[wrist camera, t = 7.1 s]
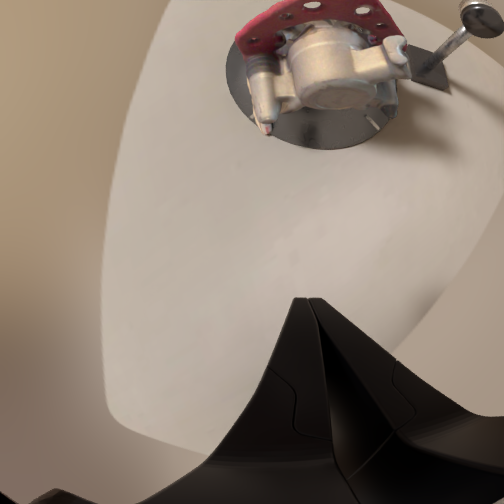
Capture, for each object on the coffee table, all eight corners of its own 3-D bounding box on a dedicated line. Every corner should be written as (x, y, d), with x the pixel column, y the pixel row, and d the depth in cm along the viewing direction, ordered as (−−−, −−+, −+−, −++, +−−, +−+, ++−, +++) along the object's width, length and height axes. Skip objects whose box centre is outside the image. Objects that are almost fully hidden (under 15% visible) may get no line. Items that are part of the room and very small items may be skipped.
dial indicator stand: (443, 90, 17) (519, 38, 6) (411, 80, 18) (483, 13, 6) (436, 59, 17) (500, 2, 6) (404, 49, 17) (463, -22, 6)
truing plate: (403, 159, 19) (404, 159, 18) (220, 145, 19) (220, 145, 19) (383, 24, 17) (383, 23, 17) (231, 9, 18) (231, 8, 18)
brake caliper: (369, 4, 14) (455, -2, 6) (370, 114, 22) (438, 176, 13) (233, 1, 15) (217, -33, 7) (247, 116, 23) (246, 181, 14)
